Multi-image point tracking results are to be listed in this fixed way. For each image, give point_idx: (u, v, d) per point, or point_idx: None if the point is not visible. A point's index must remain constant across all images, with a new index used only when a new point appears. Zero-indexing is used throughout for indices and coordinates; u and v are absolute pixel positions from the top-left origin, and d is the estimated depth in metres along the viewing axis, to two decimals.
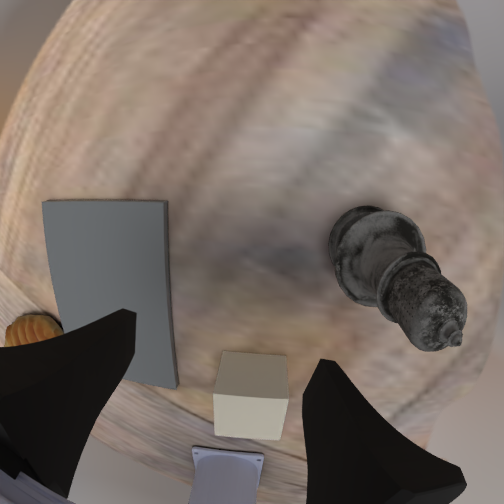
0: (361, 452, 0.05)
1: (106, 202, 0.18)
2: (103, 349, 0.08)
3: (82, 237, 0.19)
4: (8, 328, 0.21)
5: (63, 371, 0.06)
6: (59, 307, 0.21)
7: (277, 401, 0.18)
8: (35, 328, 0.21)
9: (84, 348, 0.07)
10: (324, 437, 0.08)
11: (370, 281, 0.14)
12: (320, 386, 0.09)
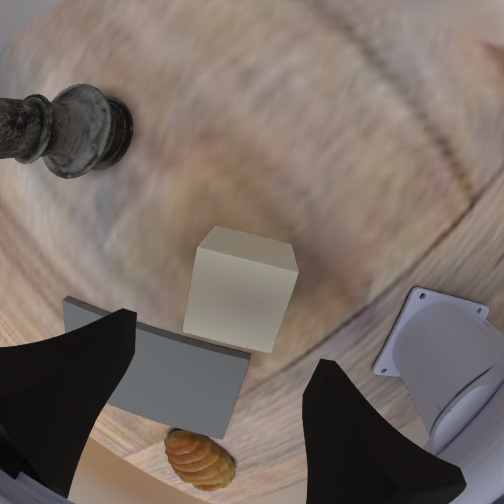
0: (361, 452, 0.05)
1: None
2: (103, 349, 0.08)
3: None
4: None
5: (63, 371, 0.06)
6: (155, 419, 0.24)
7: (200, 261, 0.14)
8: (169, 451, 0.24)
9: (84, 348, 0.07)
10: (324, 437, 0.08)
11: (51, 155, 0.12)
12: (320, 386, 0.09)
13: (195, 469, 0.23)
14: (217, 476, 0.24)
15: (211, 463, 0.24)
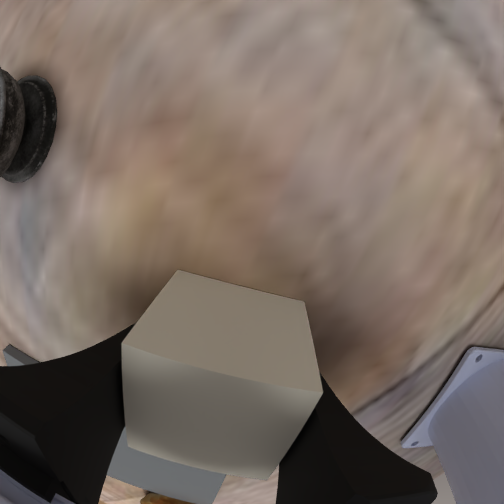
0: (323, 451, 0.05)
1: None
2: None
3: None
4: None
5: (98, 387, 0.06)
6: (130, 483, 0.16)
7: (132, 368, 0.07)
8: None
9: (116, 361, 0.07)
10: None
11: None
12: None
13: None
14: None
15: None
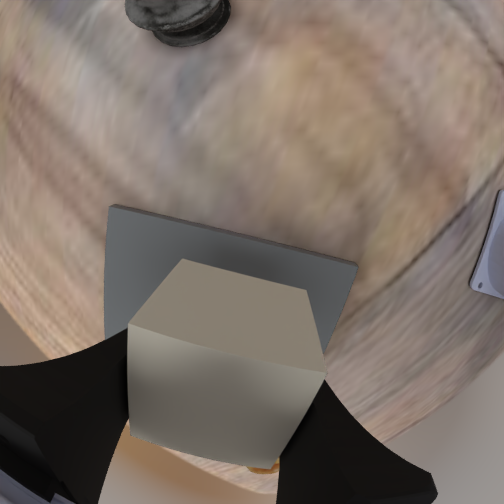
0: (323, 451, 0.05)
1: (105, 268, 0.18)
2: None
3: (136, 309, 0.19)
4: None
5: (98, 387, 0.06)
6: None
7: (138, 349, 0.07)
8: None
9: (116, 361, 0.07)
10: (294, 434, 0.08)
11: None
12: None
13: None
14: None
15: None
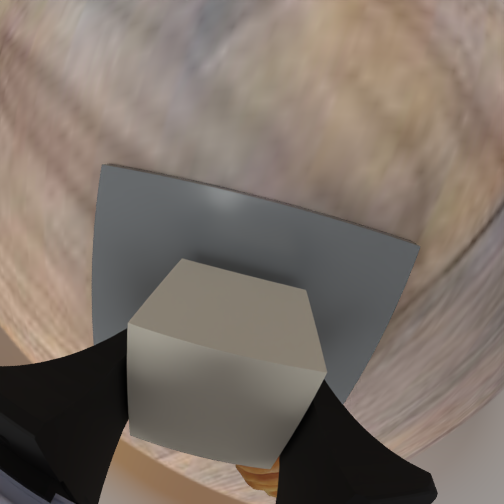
0: (323, 451, 0.05)
1: (94, 248, 0.14)
2: None
3: (133, 302, 0.15)
4: (245, 479, 0.17)
5: (98, 387, 0.06)
6: None
7: (137, 349, 0.07)
8: None
9: (116, 361, 0.07)
10: (294, 434, 0.08)
11: None
12: None
13: None
14: None
15: None
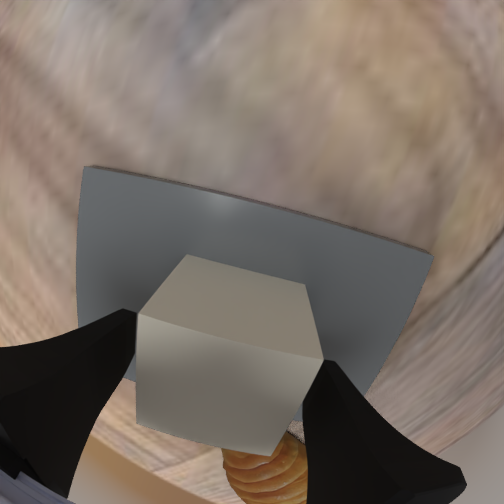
0: (361, 452, 0.05)
1: (77, 258, 0.12)
2: (103, 349, 0.08)
3: None
4: None
5: (63, 371, 0.06)
6: None
7: (147, 338, 0.07)
8: (231, 465, 0.15)
9: (84, 348, 0.07)
10: (324, 437, 0.08)
11: None
12: (320, 386, 0.09)
13: (275, 487, 0.14)
14: (306, 491, 0.15)
15: (300, 474, 0.14)
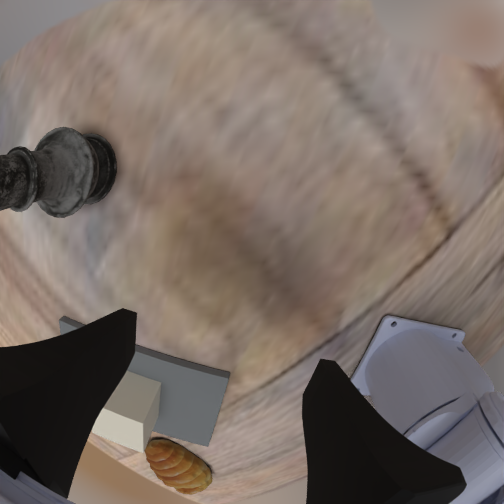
0: (361, 452, 0.05)
1: None
2: (103, 349, 0.08)
3: None
4: None
5: (63, 371, 0.06)
6: None
7: None
8: (148, 458, 0.25)
9: (84, 348, 0.07)
10: (324, 437, 0.08)
11: (40, 200, 0.14)
12: (320, 386, 0.09)
13: (172, 474, 0.25)
14: (194, 481, 0.25)
15: (186, 469, 0.25)
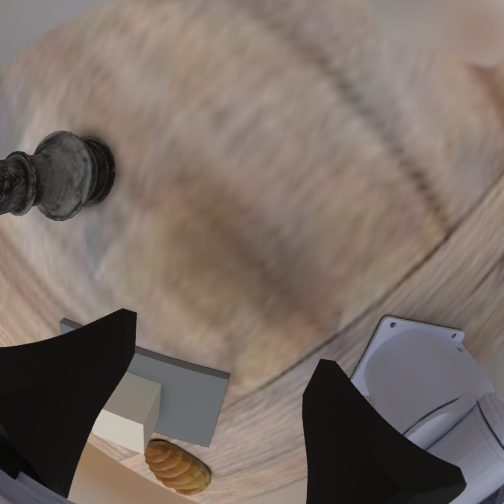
0: (361, 452, 0.05)
1: None
2: (103, 349, 0.08)
3: None
4: None
5: (63, 371, 0.06)
6: None
7: None
8: (147, 459, 0.26)
9: (84, 348, 0.07)
10: (324, 437, 0.08)
11: (39, 204, 0.14)
12: (320, 386, 0.09)
13: (171, 475, 0.25)
14: (192, 482, 0.26)
15: (184, 470, 0.25)
